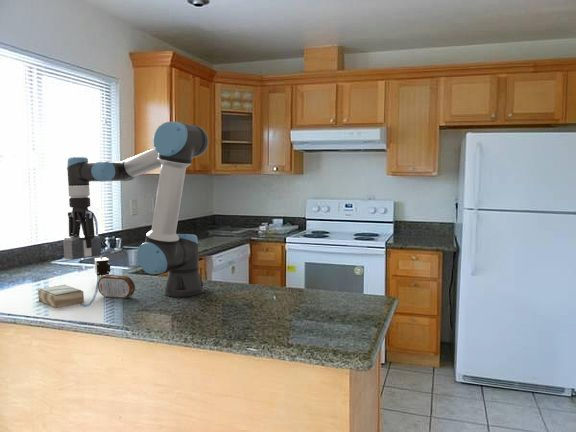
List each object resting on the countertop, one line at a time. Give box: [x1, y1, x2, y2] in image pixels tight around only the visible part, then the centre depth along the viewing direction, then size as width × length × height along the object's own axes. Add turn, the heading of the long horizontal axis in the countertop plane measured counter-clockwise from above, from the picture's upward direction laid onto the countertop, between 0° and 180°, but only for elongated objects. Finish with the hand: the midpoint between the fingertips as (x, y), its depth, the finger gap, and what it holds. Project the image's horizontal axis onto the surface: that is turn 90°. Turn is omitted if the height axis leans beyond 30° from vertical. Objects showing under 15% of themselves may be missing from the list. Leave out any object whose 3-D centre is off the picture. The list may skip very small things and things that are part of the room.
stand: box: [37, 284, 85, 309], centre depth 178 cm, size 16×10×4 cm, turn 47°
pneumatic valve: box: [93, 255, 111, 282], centre depth 206 cm, size 6×12×12 cm, turn 27°
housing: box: [62, 234, 102, 261], centre depth 189 cm, size 6×12×9 cm, turn 143°
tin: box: [97, 274, 136, 299], centre depth 182 cm, size 15×3×8 cm, turn 72°
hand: (82, 255), depth 190 cm, fingers closed on housing, 6 cm apart
